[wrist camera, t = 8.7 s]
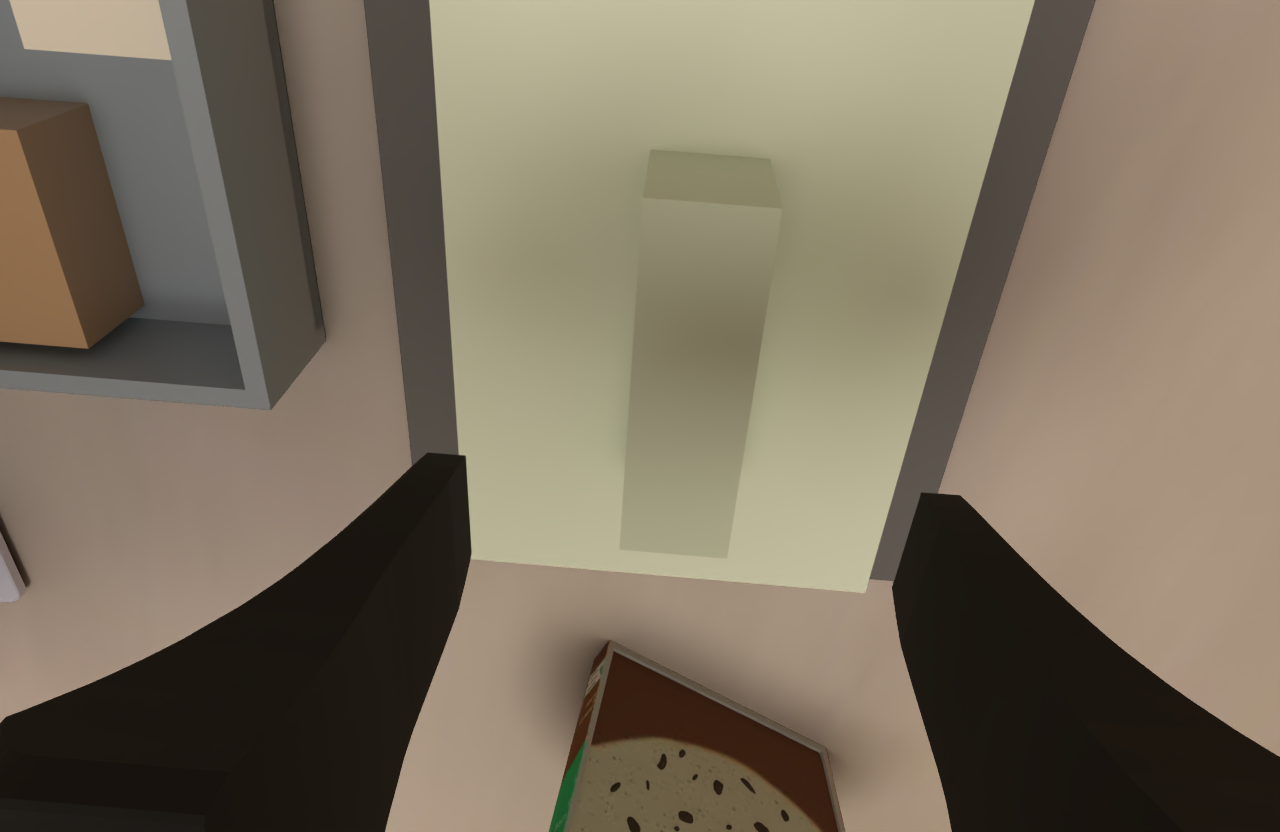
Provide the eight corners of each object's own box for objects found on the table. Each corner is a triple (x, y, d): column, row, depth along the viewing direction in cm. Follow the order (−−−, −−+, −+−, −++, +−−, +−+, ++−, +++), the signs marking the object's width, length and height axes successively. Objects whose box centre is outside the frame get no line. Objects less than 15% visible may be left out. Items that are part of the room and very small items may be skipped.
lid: (482, 508, 25) (437, 642, 21) (454, -74, 17) (370, -55, 13) (852, 539, 25) (886, 680, 21) (1002, -32, 17) (1111, 1, 12)
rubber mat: (422, 534, 26) (420, 541, 26) (351, -171, 16) (345, -172, 16) (907, 575, 26) (909, 582, 26) (1125, -114, 16) (1131, -114, 16)
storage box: (1, 314, 23) (-102, 379, 20) (-236, -304, 16) (-448, -344, 13) (326, 340, 23) (270, 409, 20) (229, -270, 16) (122, -303, 13)
